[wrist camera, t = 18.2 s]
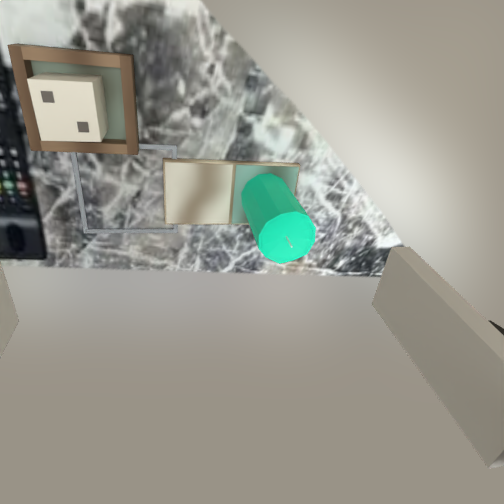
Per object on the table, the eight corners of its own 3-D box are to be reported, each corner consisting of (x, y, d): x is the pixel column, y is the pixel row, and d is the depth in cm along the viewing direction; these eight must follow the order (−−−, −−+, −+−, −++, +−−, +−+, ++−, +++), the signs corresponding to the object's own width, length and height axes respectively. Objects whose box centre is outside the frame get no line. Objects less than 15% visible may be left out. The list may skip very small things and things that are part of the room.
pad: (84, 232, 43) (83, 233, 43) (69, 140, 38) (68, 140, 37) (177, 232, 46) (177, 232, 45) (176, 145, 40) (176, 145, 40)
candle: (234, 183, 43) (253, 232, 33) (282, 165, 42) (315, 209, 33) (248, 224, 46) (270, 280, 36) (293, 208, 46) (326, 260, 36)
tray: (38, 143, 37) (30, 150, 35) (17, 43, 33) (7, 45, 31) (139, 148, 39) (137, 154, 37) (133, 54, 35) (130, 56, 33)
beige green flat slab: (165, 221, 44) (164, 225, 44) (163, 157, 40) (162, 160, 40) (288, 221, 48) (290, 225, 47) (298, 163, 44) (300, 165, 43)
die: (56, 127, 36) (41, 141, 32) (44, 71, 34) (26, 79, 29) (108, 128, 37) (100, 142, 33) (101, 75, 34) (91, 82, 30)
